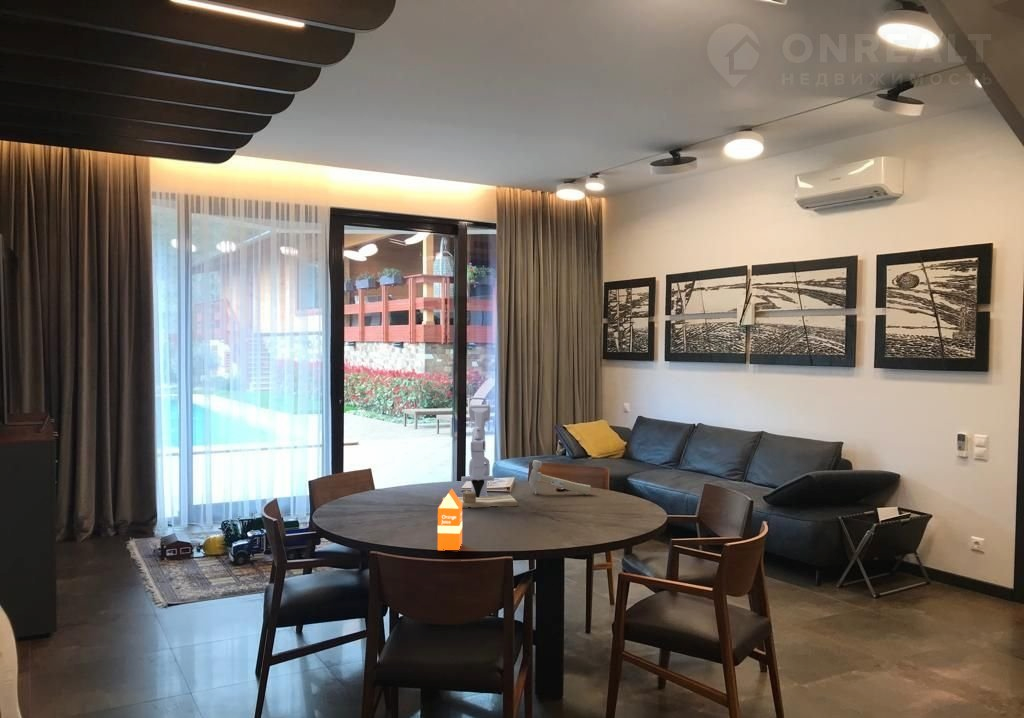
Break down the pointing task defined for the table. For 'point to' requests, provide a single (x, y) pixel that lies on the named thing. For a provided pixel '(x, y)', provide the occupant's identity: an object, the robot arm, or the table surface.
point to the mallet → (469, 496)
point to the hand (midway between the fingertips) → (477, 497)
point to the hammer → (555, 481)
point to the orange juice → (450, 523)
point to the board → (489, 501)
